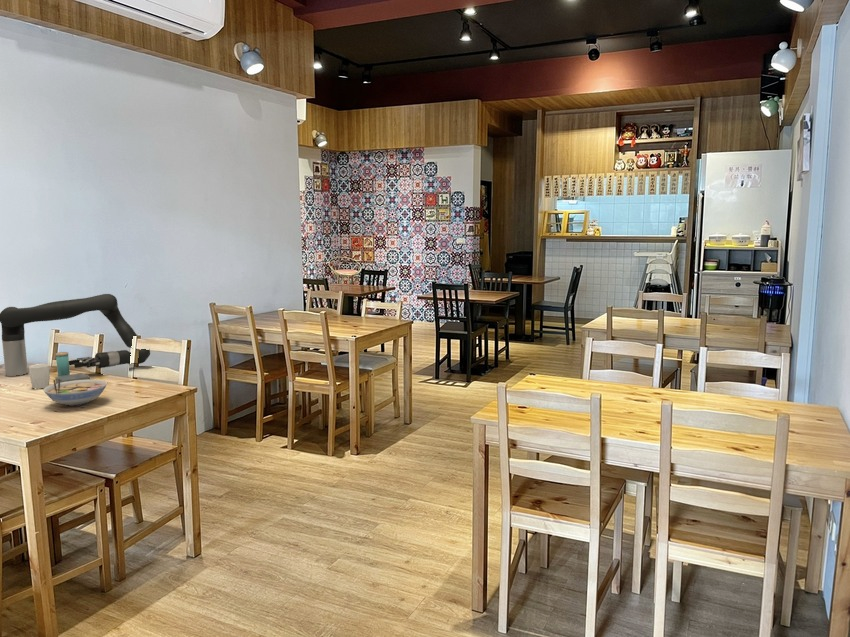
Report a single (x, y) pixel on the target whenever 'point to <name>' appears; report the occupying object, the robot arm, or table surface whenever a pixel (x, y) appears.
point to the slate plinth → (72, 377)
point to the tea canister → (62, 363)
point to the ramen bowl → (75, 391)
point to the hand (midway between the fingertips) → (71, 364)
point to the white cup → (39, 375)
